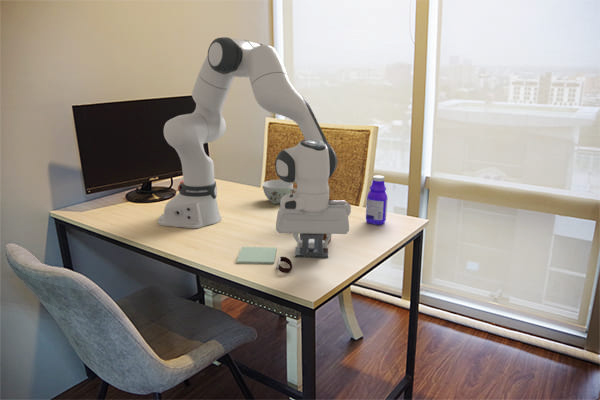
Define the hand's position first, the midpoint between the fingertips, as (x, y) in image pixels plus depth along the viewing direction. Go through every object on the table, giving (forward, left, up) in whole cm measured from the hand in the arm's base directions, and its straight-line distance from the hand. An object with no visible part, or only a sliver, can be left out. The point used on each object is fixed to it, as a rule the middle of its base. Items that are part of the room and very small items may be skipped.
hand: (312, 247), depth 134 cm
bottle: (+23, +41, -7) cm, 47 cm away
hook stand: (0, +7, -7) cm, 10 cm away
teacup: (-14, +64, -7) cm, 65 cm away
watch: (-8, +1, -8) cm, 11 cm away
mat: (-17, +9, -7) cm, 20 cm away
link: (0, 0, -2) cm, 2 cm away
